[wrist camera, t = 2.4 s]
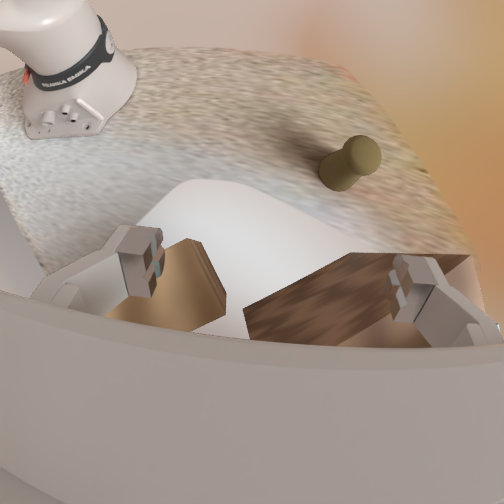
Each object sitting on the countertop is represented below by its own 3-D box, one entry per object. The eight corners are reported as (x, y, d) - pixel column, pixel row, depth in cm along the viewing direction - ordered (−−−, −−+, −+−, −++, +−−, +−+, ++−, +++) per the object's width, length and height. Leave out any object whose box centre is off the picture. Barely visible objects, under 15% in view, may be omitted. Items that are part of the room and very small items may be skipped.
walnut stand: (278, 376, 44) (326, 490, 19) (242, 308, 44) (261, 384, 18) (378, 320, 46) (494, 372, 20) (350, 252, 45) (471, 254, 19)
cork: (317, 152, 45) (341, 126, 34) (353, 154, 45) (385, 130, 34) (320, 191, 45) (347, 174, 34) (357, 191, 45) (391, 176, 34)
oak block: (132, 338, 43) (93, 374, 28) (107, 290, 42) (58, 307, 28) (226, 293, 44) (225, 314, 29) (200, 242, 44) (186, 238, 29)
